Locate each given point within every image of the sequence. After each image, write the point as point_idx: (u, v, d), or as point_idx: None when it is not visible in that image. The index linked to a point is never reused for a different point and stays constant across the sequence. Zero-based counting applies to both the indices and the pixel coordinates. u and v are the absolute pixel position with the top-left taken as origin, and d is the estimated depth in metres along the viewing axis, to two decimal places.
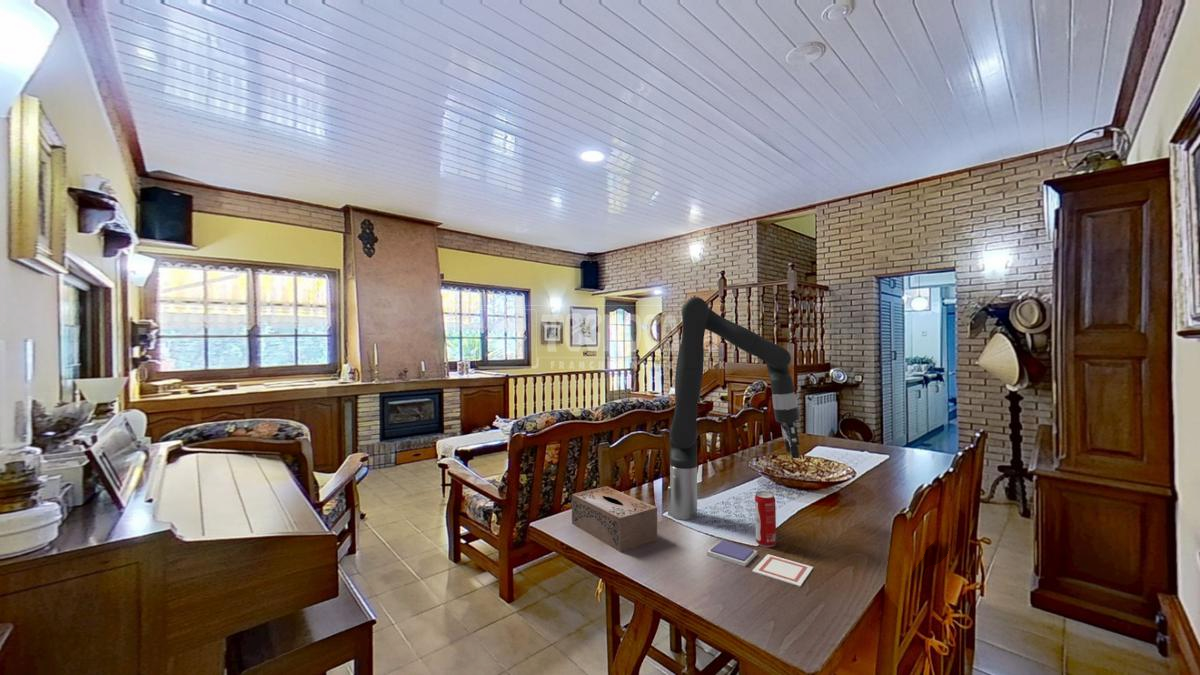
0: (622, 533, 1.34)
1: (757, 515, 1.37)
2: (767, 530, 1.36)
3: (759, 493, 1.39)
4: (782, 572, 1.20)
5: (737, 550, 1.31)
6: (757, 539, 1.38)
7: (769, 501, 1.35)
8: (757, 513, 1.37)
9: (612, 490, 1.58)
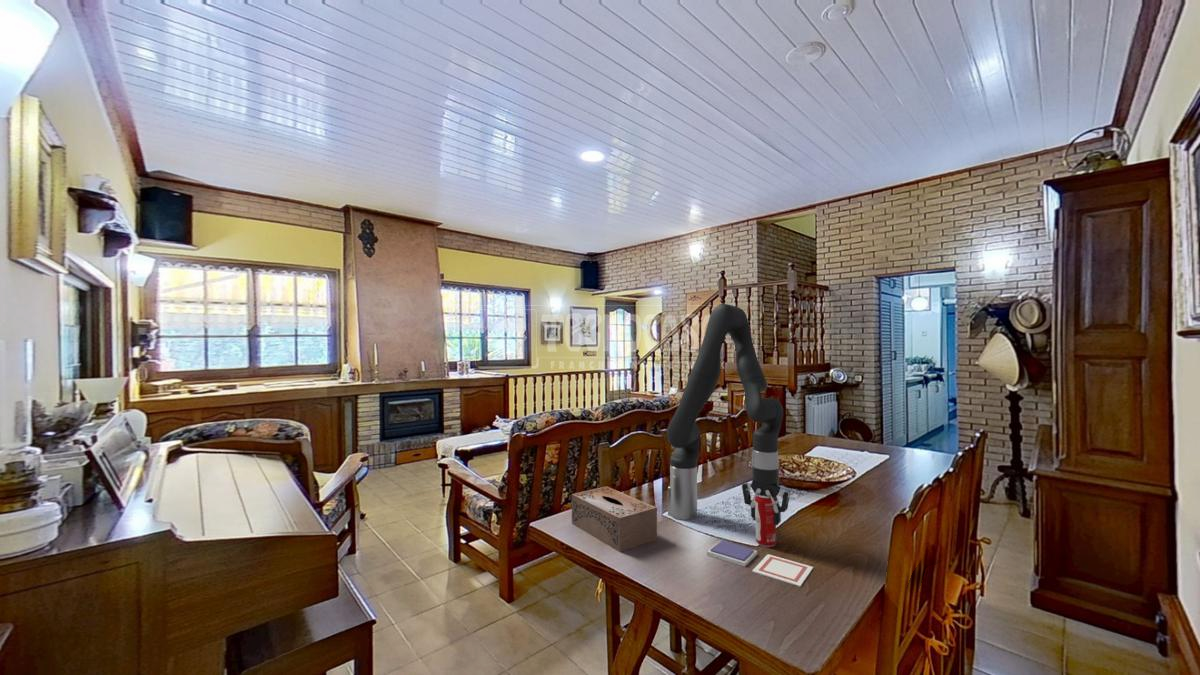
0: (622, 533, 1.34)
1: (757, 515, 1.37)
2: (767, 530, 1.36)
3: None
4: (782, 572, 1.20)
5: (737, 550, 1.31)
6: (757, 539, 1.38)
7: (769, 501, 1.35)
8: (757, 513, 1.37)
9: (612, 490, 1.58)
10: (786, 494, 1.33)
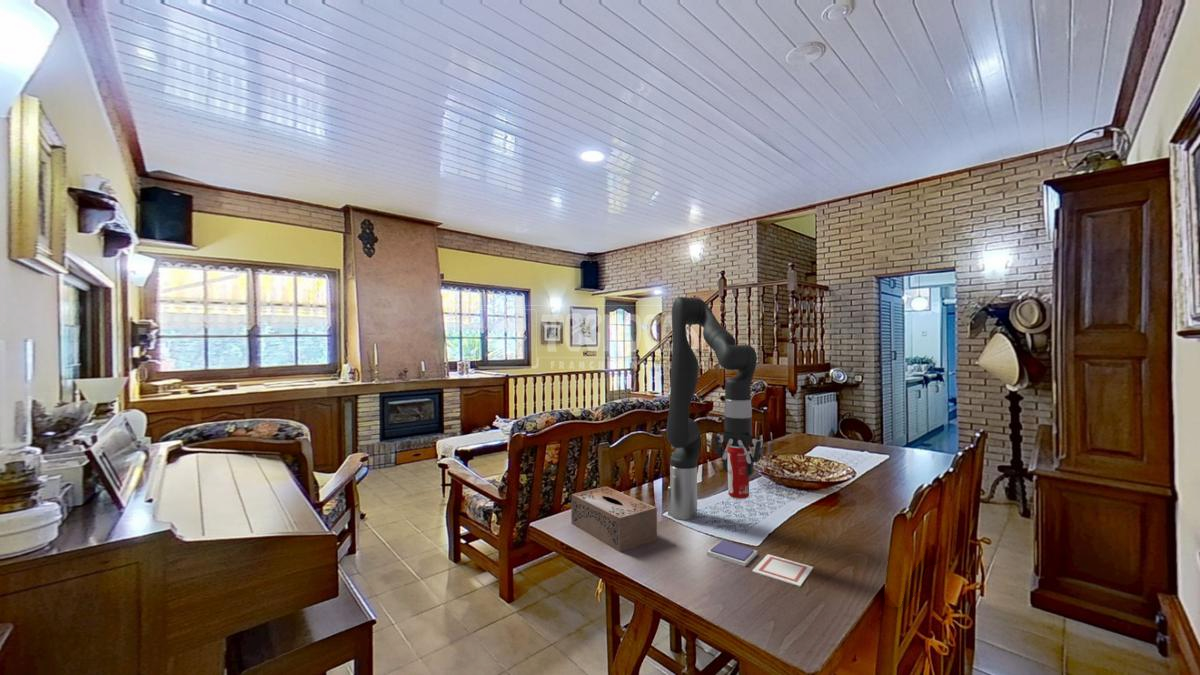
0: (622, 533, 1.34)
1: (729, 467, 1.31)
2: (739, 482, 1.30)
3: None
4: (782, 572, 1.20)
5: (737, 550, 1.31)
6: (729, 492, 1.32)
7: (742, 451, 1.29)
8: (729, 465, 1.31)
9: (612, 490, 1.58)
10: (759, 443, 1.28)
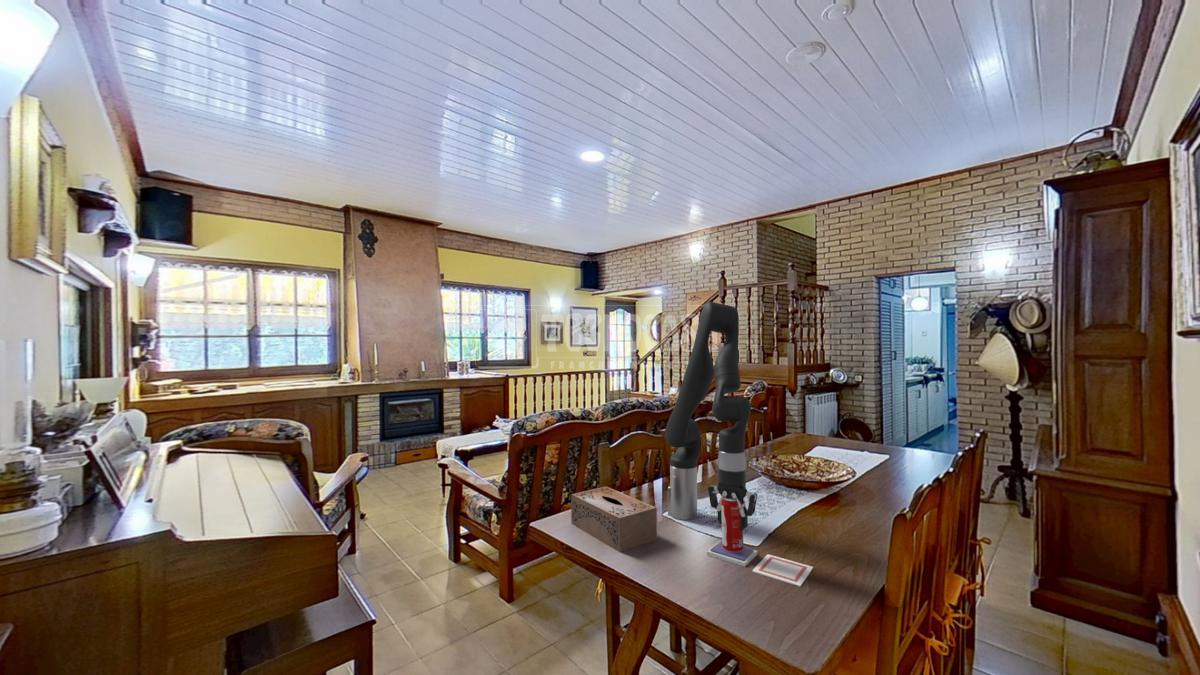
0: (622, 533, 1.34)
1: (723, 519, 1.30)
2: (733, 535, 1.29)
3: None
4: (782, 572, 1.20)
5: None
6: (723, 544, 1.31)
7: (736, 505, 1.28)
8: (723, 517, 1.30)
9: (612, 490, 1.58)
10: (752, 497, 1.26)
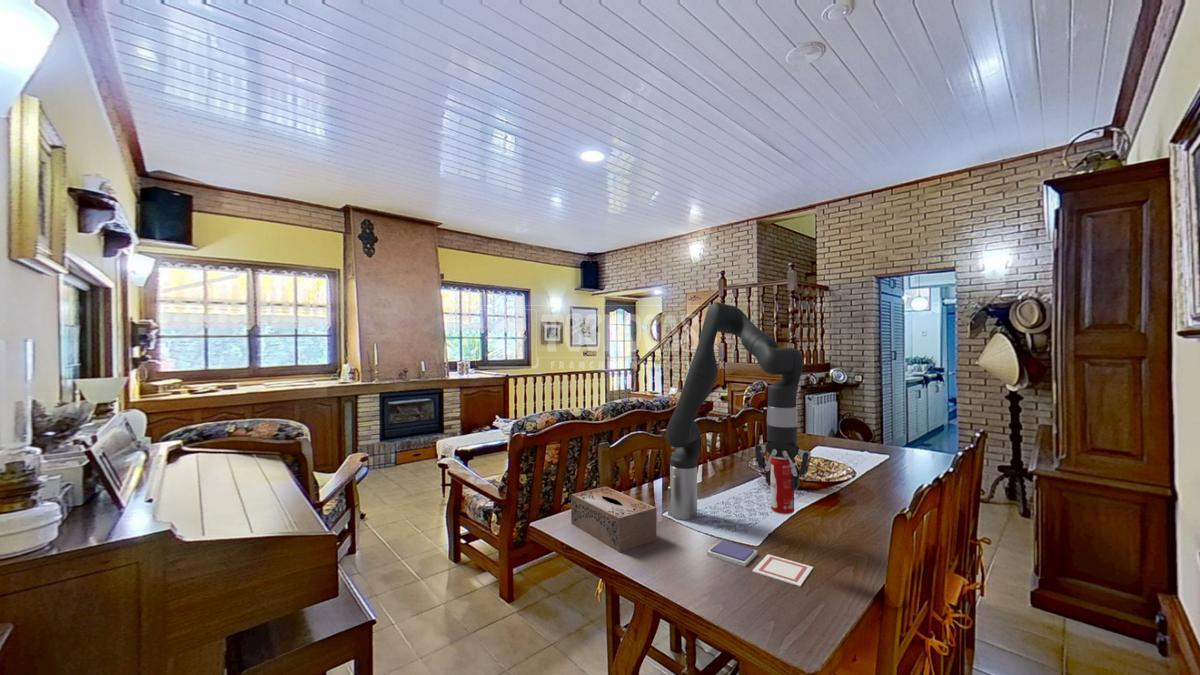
0: (621, 533, 1.34)
1: (773, 479, 1.22)
2: (784, 496, 1.20)
3: None
4: (782, 572, 1.20)
5: (737, 550, 1.31)
6: (773, 506, 1.22)
7: (787, 463, 1.20)
8: (773, 477, 1.22)
9: (611, 490, 1.58)
10: (806, 454, 1.18)
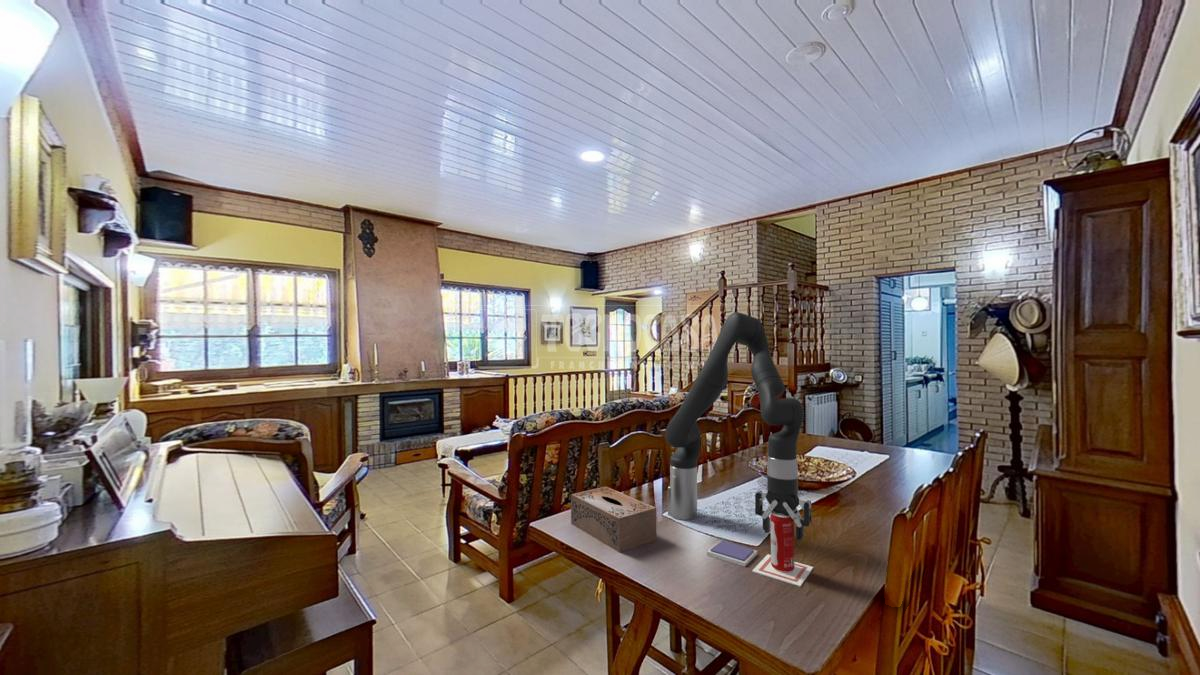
0: (621, 533, 1.34)
1: (773, 537, 1.22)
2: (784, 554, 1.20)
3: None
4: (782, 572, 1.20)
5: (737, 550, 1.31)
6: (773, 563, 1.22)
7: (788, 521, 1.19)
8: (773, 535, 1.21)
9: (611, 490, 1.58)
10: (807, 505, 1.18)
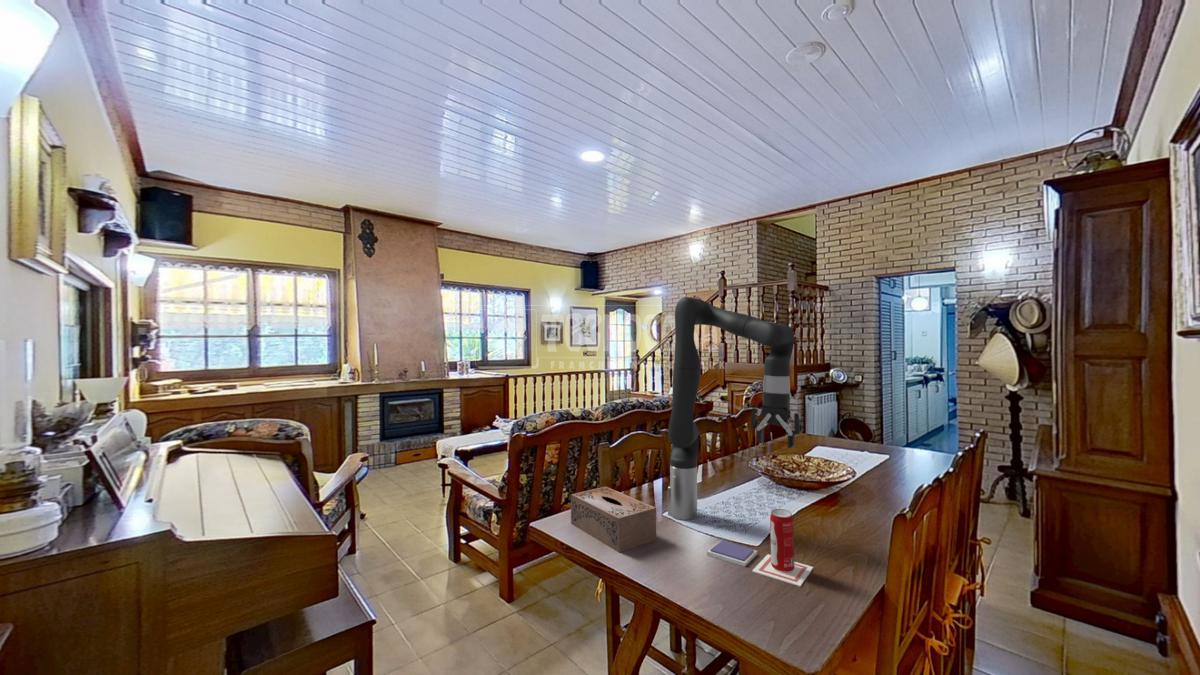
0: (621, 533, 1.34)
1: (773, 537, 1.22)
2: (784, 554, 1.20)
3: (775, 511, 1.23)
4: (782, 572, 1.20)
5: (737, 550, 1.31)
6: (773, 563, 1.22)
7: (788, 521, 1.20)
8: (773, 535, 1.21)
9: (611, 490, 1.58)
10: (797, 415, 1.33)
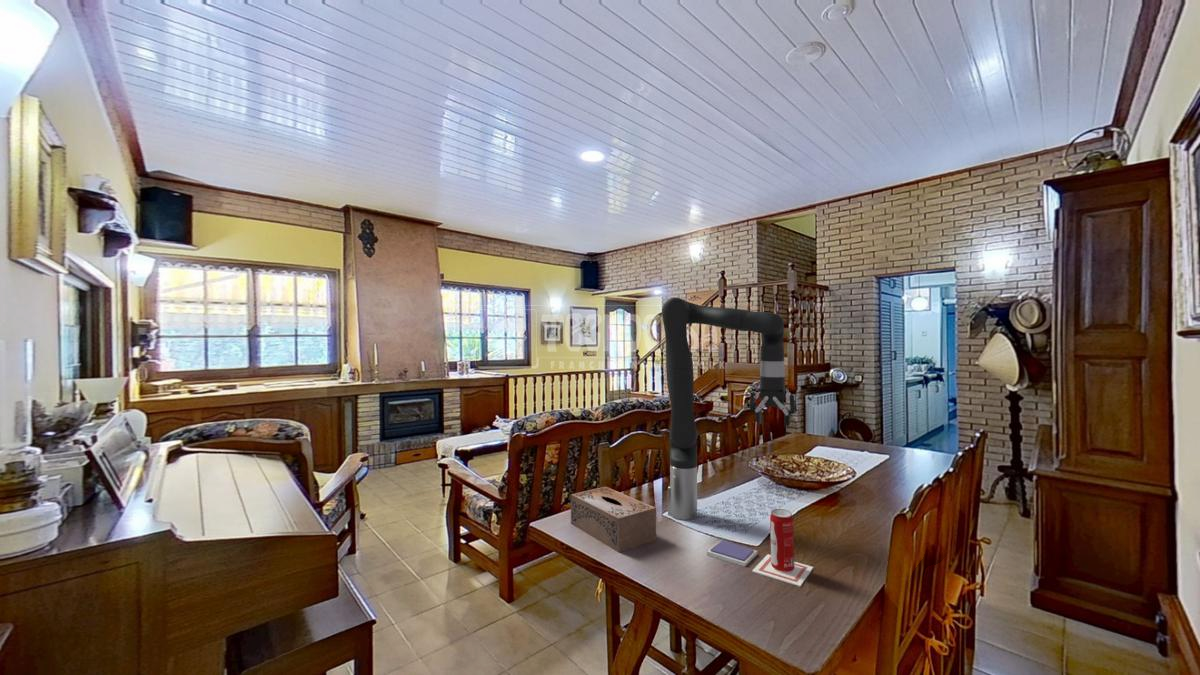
0: (621, 533, 1.34)
1: (773, 537, 1.22)
2: (784, 554, 1.20)
3: (775, 511, 1.23)
4: (782, 572, 1.20)
5: (737, 550, 1.31)
6: (773, 563, 1.22)
7: (788, 521, 1.20)
8: (773, 535, 1.21)
9: (611, 490, 1.58)
10: (792, 396, 1.45)
